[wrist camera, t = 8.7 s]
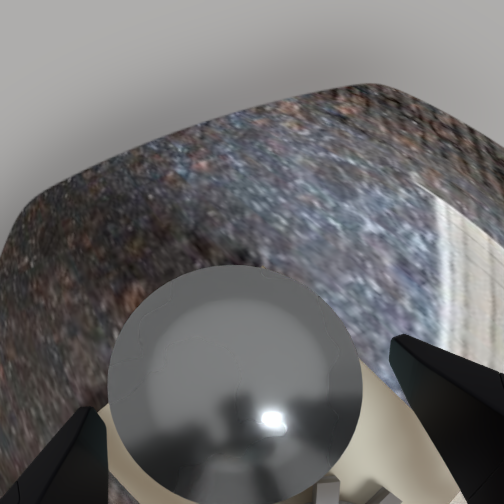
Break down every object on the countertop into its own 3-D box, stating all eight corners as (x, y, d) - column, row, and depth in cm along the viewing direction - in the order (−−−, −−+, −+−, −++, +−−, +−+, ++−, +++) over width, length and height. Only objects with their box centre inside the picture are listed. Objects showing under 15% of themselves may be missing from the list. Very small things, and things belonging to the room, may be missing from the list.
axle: (266, 440, 14) (284, 541, 4) (184, 396, 15) (71, 421, 5) (310, 360, 16) (400, 331, 6) (228, 319, 17) (186, 225, 7)
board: (304, 616, 10) (312, 648, 6) (70, 420, 16) (31, 425, 12) (471, 471, 14) (507, 482, 10) (250, 259, 19) (249, 229, 16)
